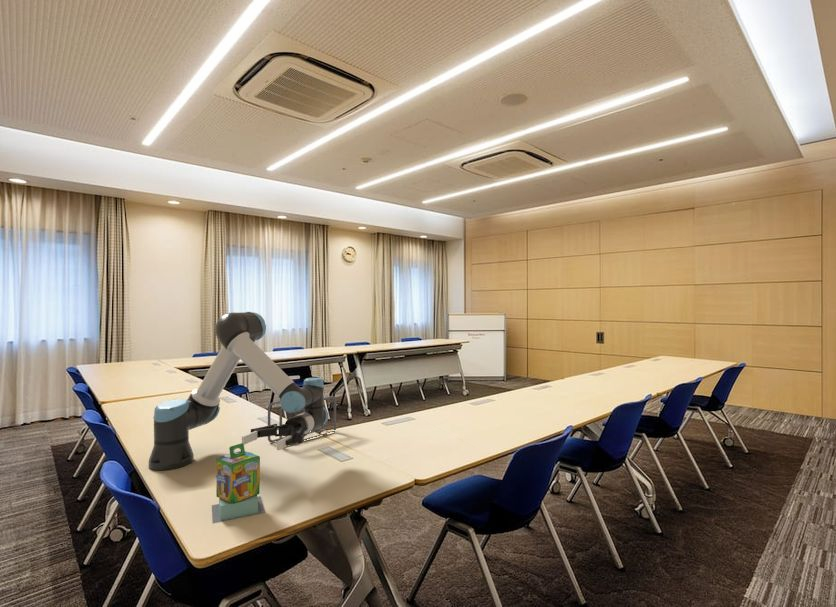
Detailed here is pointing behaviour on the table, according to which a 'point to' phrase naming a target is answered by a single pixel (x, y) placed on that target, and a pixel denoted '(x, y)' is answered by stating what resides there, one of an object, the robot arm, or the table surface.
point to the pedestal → (238, 507)
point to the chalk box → (238, 475)
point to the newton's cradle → (294, 415)
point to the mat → (217, 517)
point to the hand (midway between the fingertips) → (260, 443)
